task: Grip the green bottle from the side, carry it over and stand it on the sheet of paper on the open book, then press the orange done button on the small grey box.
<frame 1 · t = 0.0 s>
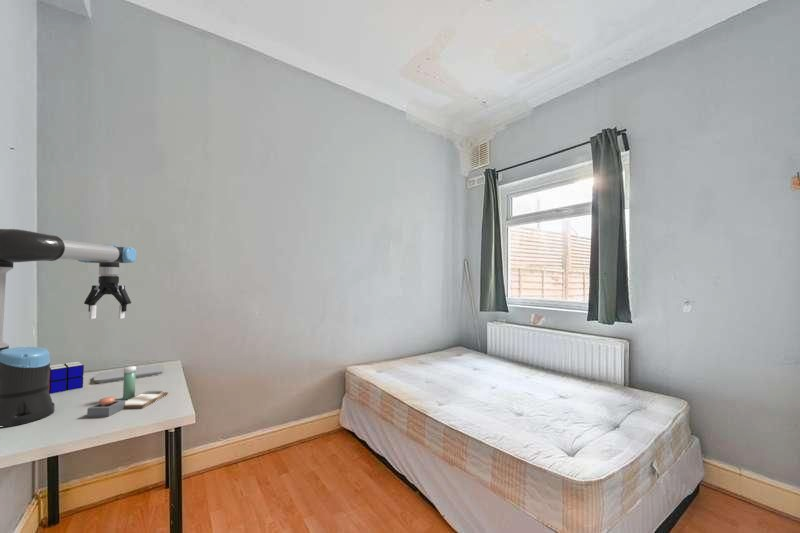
hand: (107, 318, 158), 28 cm above the table, tool pointing down, fingers open, 13 cm apart
done button: (107, 401, 113), point 4 cm above the table, slide at 0.0 cm
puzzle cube: (64, 389, 138), on the table
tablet: (130, 376, 157), on the table
open book: (142, 401, 123), on the table
button box: (106, 412, 113), on the table
green bottle: (128, 398, 127), on the table
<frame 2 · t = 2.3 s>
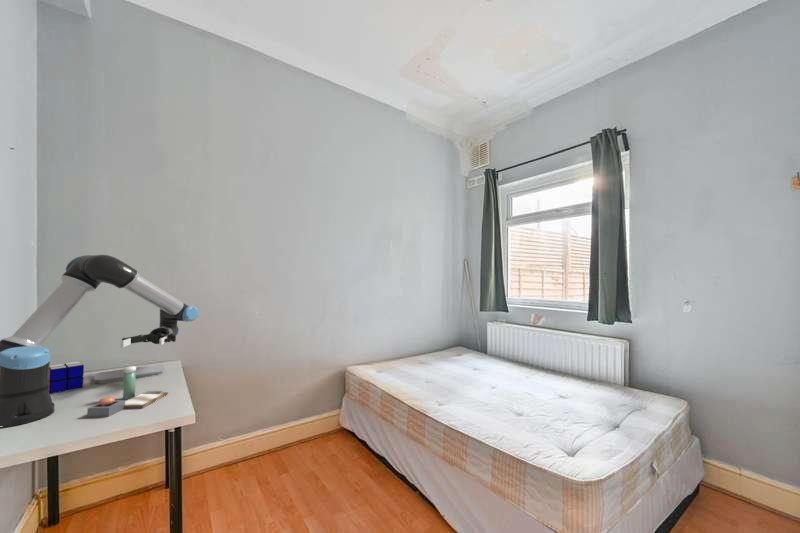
hand: (141, 343, 137), 20 cm above the table, tool horizontal, fingers open, 13 cm apart
nothing on the table moved.
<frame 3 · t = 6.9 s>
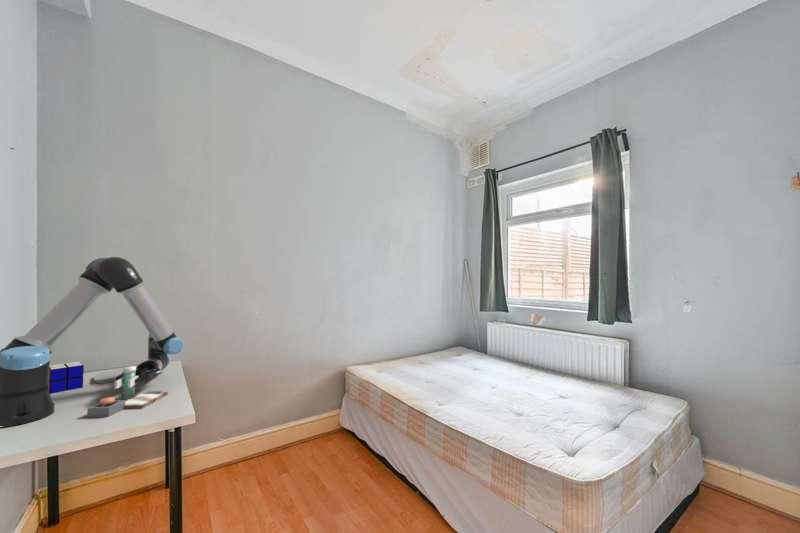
hand: (122, 384, 122), 7 cm above the table, tool horizontal, fingers closed on green bottle, 3 cm apart
green bottle: (128, 398, 127), on the table, touching gripper
everything else where it was.
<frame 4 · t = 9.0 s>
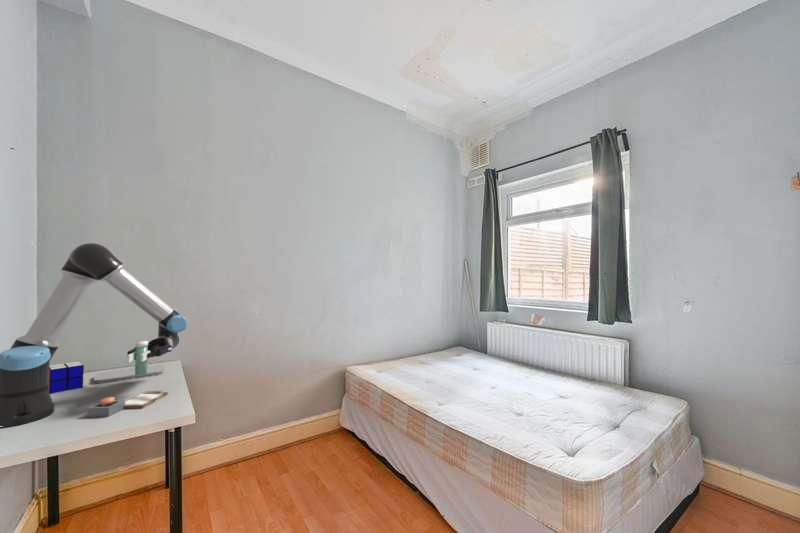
hand: (135, 358, 119), 18 cm above the table, tool horizontal, fingers closed on green bottle, 3 cm apart
green bottle: (140, 373, 124), point 11 cm above the table, touching gripper
everything else where it was.
when the fingers open (9 cm above the table, at t = 11.1 s): green bottle stays where it is, resting on open book.
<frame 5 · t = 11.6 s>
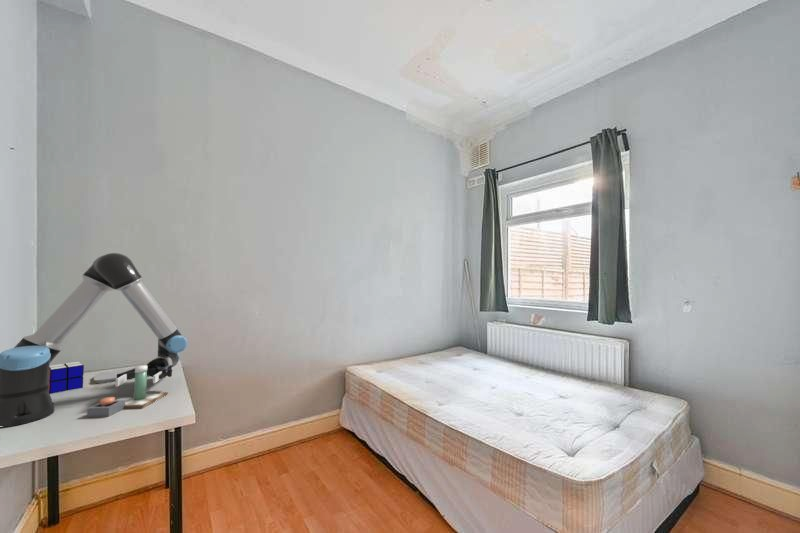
hand: (135, 381, 120), 9 cm above the table, tool horizontal, fingers open, 11 cm apart
green bottle: (139, 398, 123), point 1 cm above the table, touching open book
everything else where it was.
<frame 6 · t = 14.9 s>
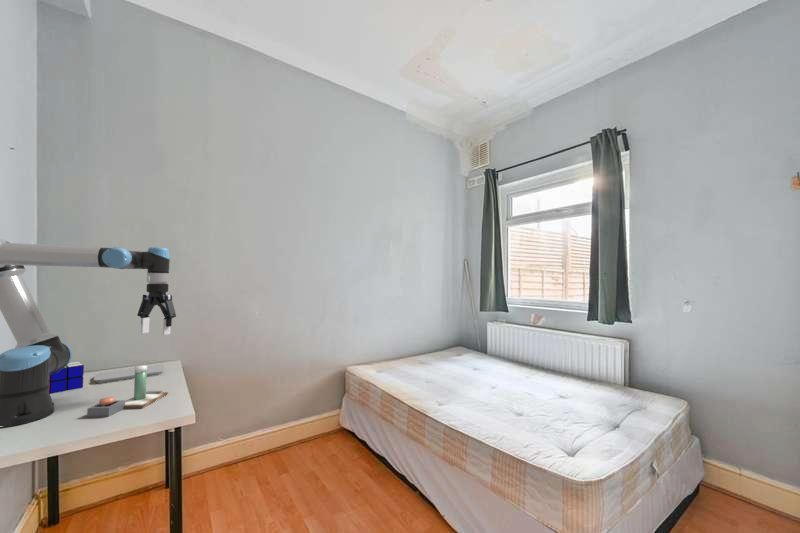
hand: (155, 333, 137), 24 cm above the table, tool pointing down, fingers open, 12 cm apart
nothing on the table moved.
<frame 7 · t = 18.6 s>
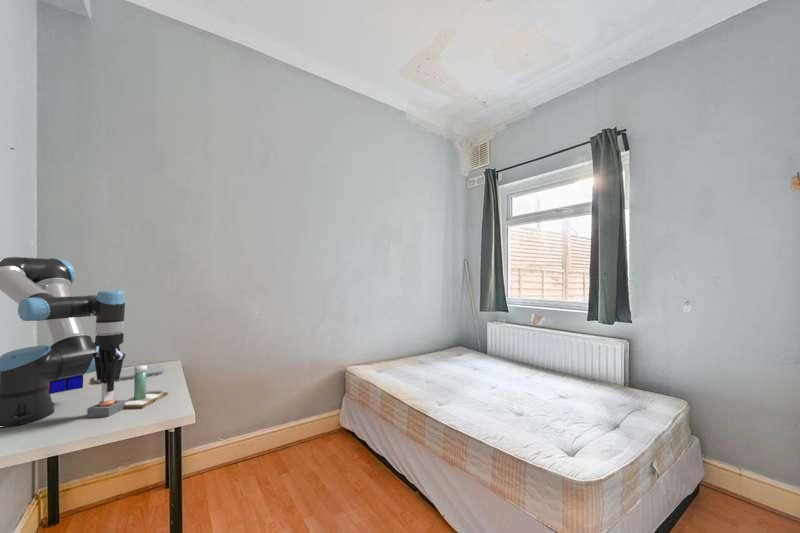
hand: (107, 400, 113), 4 cm above the table, tool pointing down, fingers closed
done button: (107, 403, 113), point 3 cm above the table, slide at 0.8 cm, touching gripper
everything else where it was.
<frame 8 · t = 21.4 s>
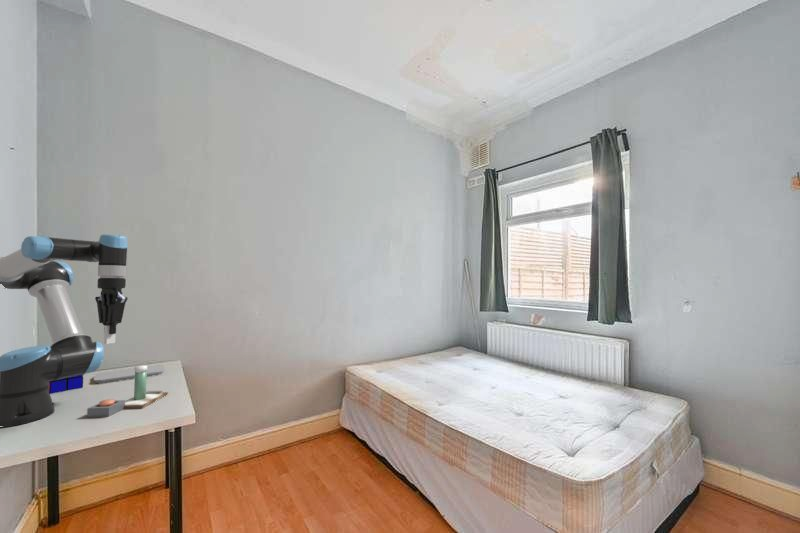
hand: (109, 343, 114), 24 cm above the table, tool pointing down, fingers closed
done button: (107, 403, 113), point 3 cm above the table, slide at 0.8 cm
everything else where it was.
at the end: green bottle inside the target area (1.0 cm from its centre), point 1.2 cm above the table; green bottle tilted 0°; done button slide at 0.8 cm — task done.
